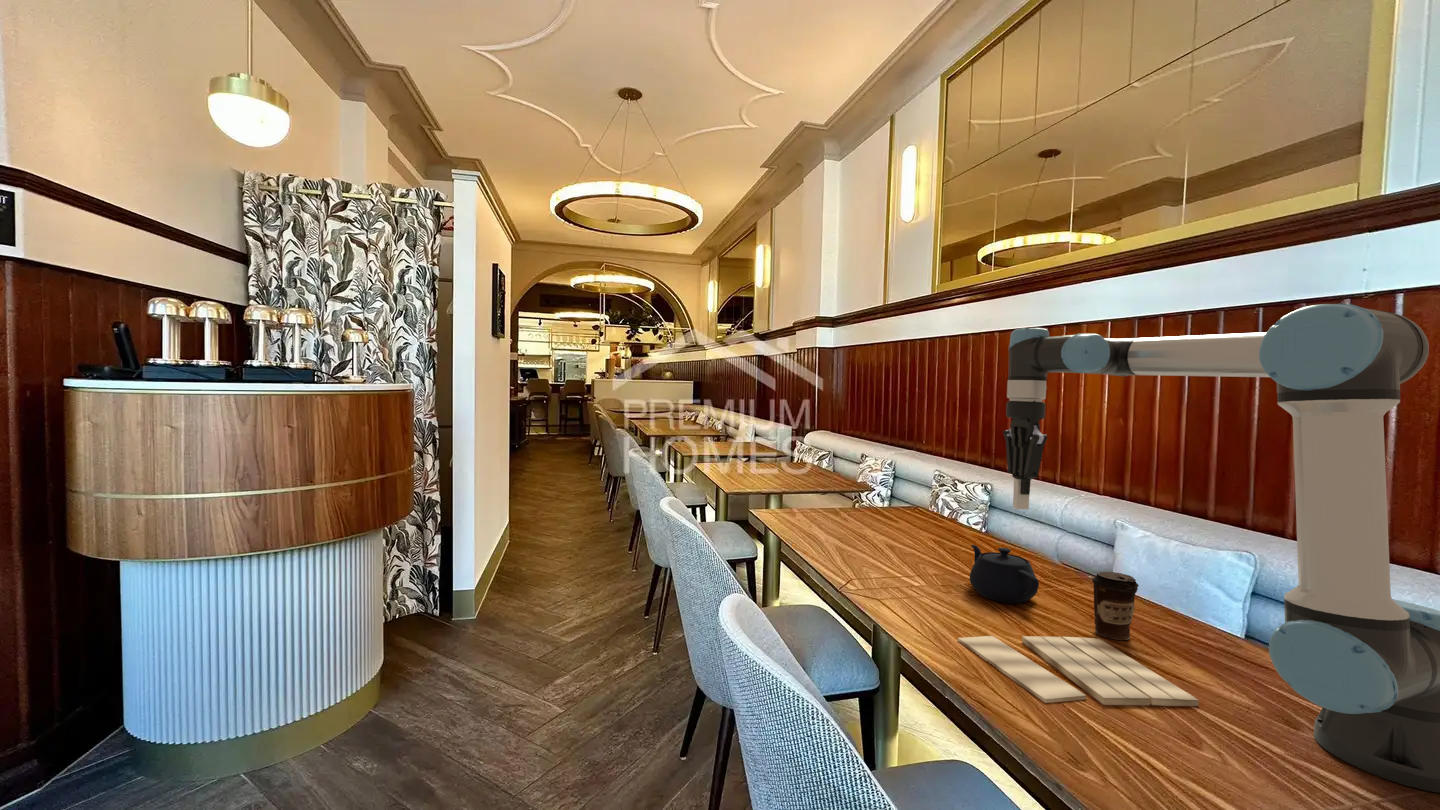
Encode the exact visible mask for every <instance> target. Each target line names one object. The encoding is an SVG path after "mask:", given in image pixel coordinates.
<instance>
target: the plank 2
mask: <svg viewBox="0 0 1440 810" xmlns="http://www.w3.org/2000/svg"><path fill="white" fill-rule="evenodd" d="M1061 638H1062V639H1064V640H1065V641H1067V642H1068V643H1070V644H1071V645H1073V646H1074V647H1076V648H1077V649H1079V650H1080V651H1082V652H1083V653H1085V654H1086V655H1087V656H1089V657H1090V658H1092V659H1093V660H1095V661H1096V662H1098V663H1099V664H1101V665H1102V666H1104V667H1105V668H1107V669H1108V670H1110V671H1111V672H1112V673H1114V674H1115V675H1117V676H1118V677H1120V678H1121V679H1123V680H1124V681H1126V682H1127V683H1129V684H1130V685H1132V686H1133V687H1135V688H1136V689H1137V690H1139V691H1140V692H1142V693H1143V694H1145V695H1146V696H1148V697H1149V698H1150V706H1162V707H1163V706H1164V707H1165V706H1166V707H1170V706H1171V707H1199V702H1200V701H1199V699H1198V698H1196V697H1195V696H1193V695H1192V694H1189V693H1188V692H1187V691H1185V690H1183V689H1182V688H1180V687H1178V686H1177V685H1175V684H1174V683H1172V682H1170V681H1168V680H1167V679H1166V678H1164V677H1162V676H1161V675H1159V674H1157V673H1156V672H1155V671H1152V670H1151V669H1150V668H1147V667H1146V666H1144V665H1143V664H1142V663H1140V662H1138V661H1137V660H1135V659H1133V658H1132V657H1130V656H1128V655H1126V654H1125V653H1124V652H1122V651H1121V650H1119V649H1117V648H1116V647H1114V646H1112V645H1111V644H1109V643H1107V642H1106V641H1105V640H1102V639H1101V638H1098V637H1097V638H1095V637H1082V636H1079V637H1078V636H1077V637H1076V636H1061Z"/></svg>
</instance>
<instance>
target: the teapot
mask: <svg viewBox="0 0 1440 810" xmlns="http://www.w3.org/2000/svg"><path fill="white" fill-rule="evenodd" d="M970 547H971V548H972V549H973V552H974V553H973V554H974V563H973V566H972V568H971V570H970V572H969V583H970V585H971V586H972V587H973V588H974V590H975V591H976V592H977V593H978V594H979V595H980V596H982V597H984V598H986V599H989V600H992V601H994V602H995V601H996V602H1000V603H1006V604H1007V603H1008V604H1021V603H1026V602H1028V601H1029V600H1030V599H1032V598H1034V597H1035V596H1036V595H1037V592H1038V590H1039V586H1040V585H1039V584H1040V583H1039V582H1040V581H1039V579H1038V578H1037V576H1036V574H1035V571H1034V569H1033V567H1032V565H1031V562H1030V561H1029V560H1028V559H1026V558H1025V557H1022V556H1018V555H1014V554H1011V552H1012V550H1011V549H1010V548H1008V547H1007V548H1006V547H999V548H998V551H999V552H989V551H988V552H983V553H982V551H981V549H980V547H979V546H977V545H975V544H971V545H970ZM1009 553H1010V554H1009Z"/></svg>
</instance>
